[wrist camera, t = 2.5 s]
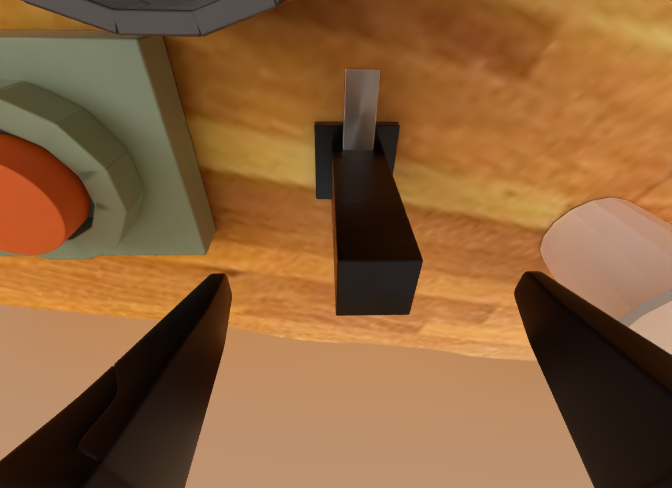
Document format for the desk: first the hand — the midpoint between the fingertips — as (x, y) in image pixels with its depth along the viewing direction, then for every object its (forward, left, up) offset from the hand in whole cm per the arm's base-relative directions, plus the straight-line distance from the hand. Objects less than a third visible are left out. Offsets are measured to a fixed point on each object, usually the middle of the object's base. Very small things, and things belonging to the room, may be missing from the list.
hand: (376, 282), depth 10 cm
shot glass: (-15, +5, -9) cm, 18 cm away
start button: (+14, 0, -5) cm, 14 cm away
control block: (+14, 0, -9) cm, 16 cm away
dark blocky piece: (0, 0, -9) cm, 9 cm away
